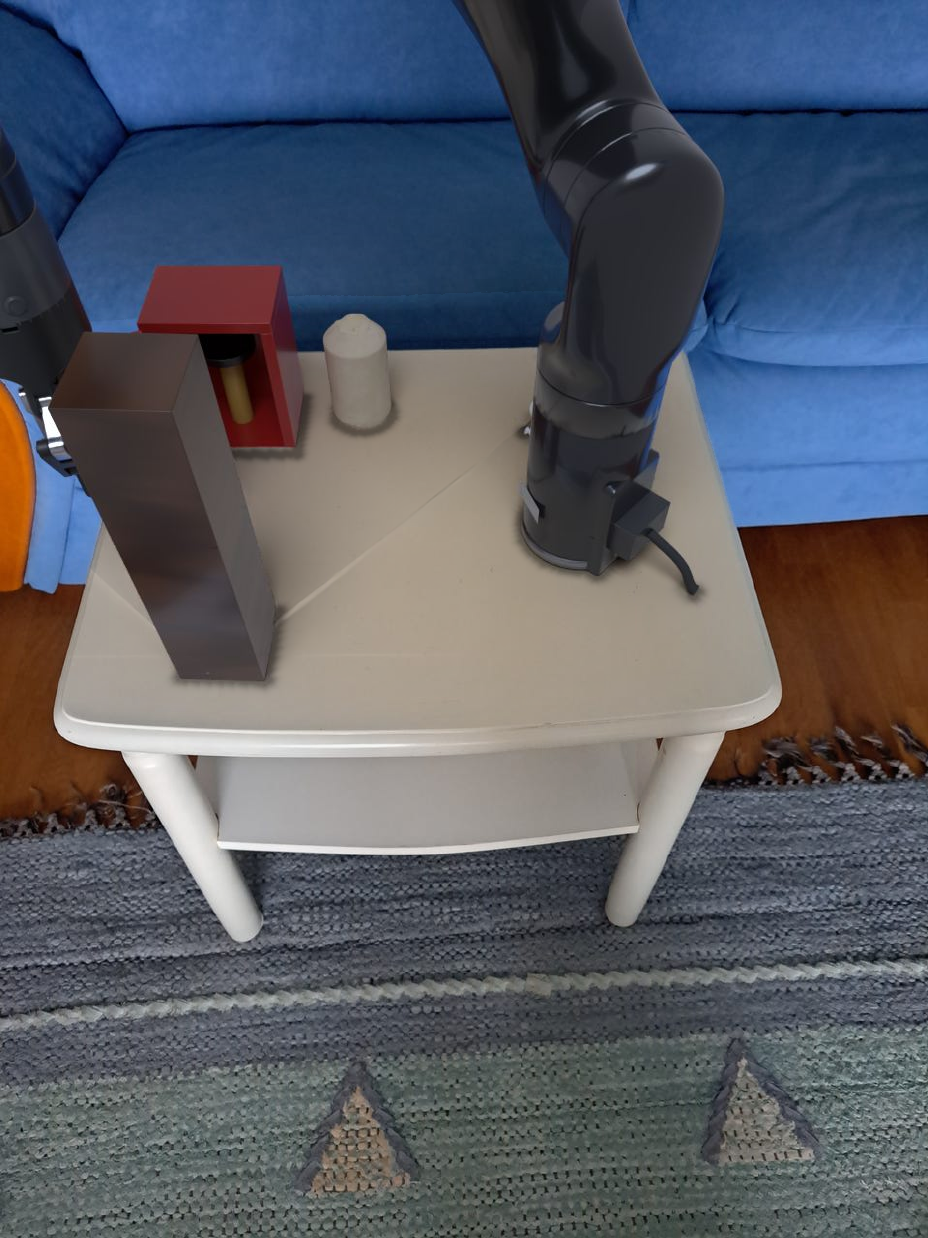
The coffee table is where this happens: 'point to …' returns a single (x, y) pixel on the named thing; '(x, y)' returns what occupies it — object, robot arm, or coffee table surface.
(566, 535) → the robot arm
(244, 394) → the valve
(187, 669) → the plinth
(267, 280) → the cabinet
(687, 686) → the coffee table surface
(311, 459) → the coffee table surface
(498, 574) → the coffee table surface
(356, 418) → the candle
